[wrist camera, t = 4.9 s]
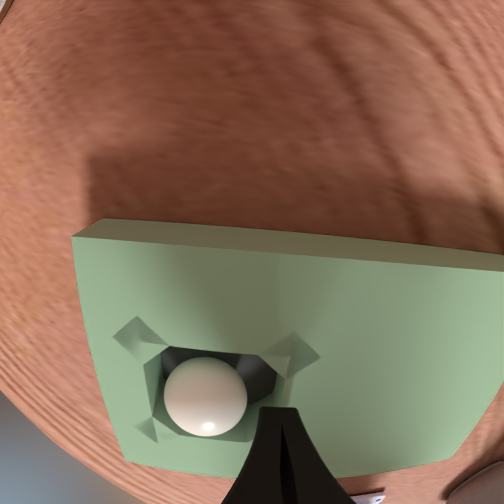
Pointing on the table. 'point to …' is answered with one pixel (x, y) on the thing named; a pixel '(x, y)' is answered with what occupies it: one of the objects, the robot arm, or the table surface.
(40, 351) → the table surface
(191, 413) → the ball
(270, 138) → the table surface
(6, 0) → the tin
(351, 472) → the plate
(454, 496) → the coffee pot
